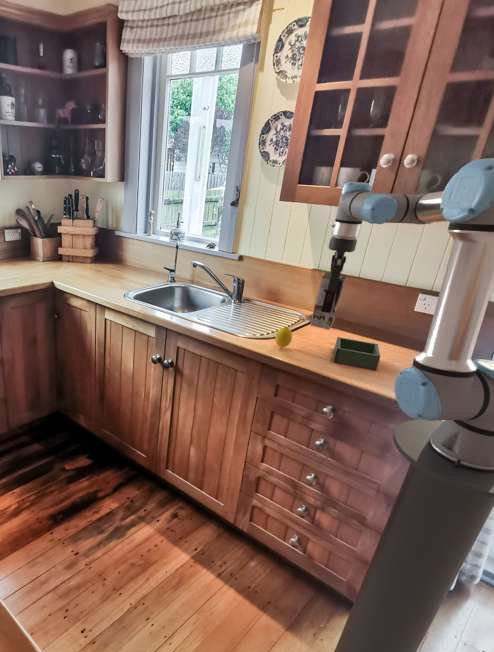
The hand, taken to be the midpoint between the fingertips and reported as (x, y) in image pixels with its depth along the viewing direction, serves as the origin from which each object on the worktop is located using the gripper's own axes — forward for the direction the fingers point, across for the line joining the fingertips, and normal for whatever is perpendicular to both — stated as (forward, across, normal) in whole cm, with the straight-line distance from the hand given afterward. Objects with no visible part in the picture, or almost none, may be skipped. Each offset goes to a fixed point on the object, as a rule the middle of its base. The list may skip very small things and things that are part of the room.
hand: (326, 307), depth 151 cm
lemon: (+18, -4, -11) cm, 22 cm away
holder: (+18, -6, +13) cm, 23 cm away
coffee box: (+6, 0, 0) cm, 6 cm away
